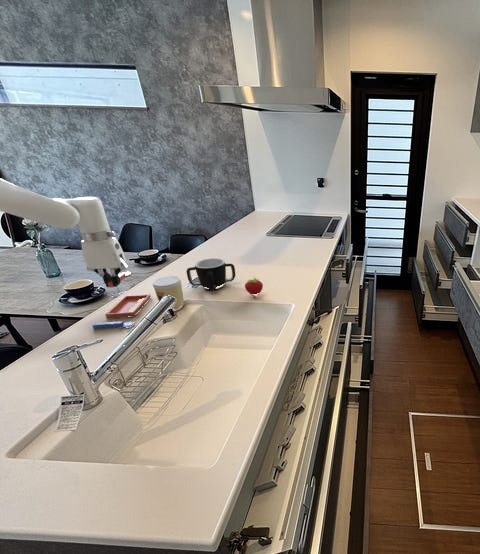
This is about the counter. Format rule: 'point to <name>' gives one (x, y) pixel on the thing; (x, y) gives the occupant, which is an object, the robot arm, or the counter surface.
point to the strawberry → (254, 286)
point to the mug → (211, 273)
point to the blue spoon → (111, 325)
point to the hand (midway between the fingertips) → (113, 285)
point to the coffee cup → (169, 289)
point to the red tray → (126, 306)
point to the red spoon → (121, 276)
